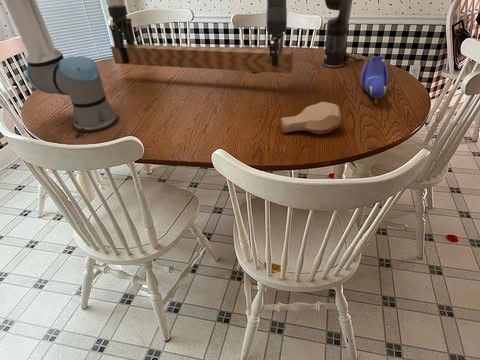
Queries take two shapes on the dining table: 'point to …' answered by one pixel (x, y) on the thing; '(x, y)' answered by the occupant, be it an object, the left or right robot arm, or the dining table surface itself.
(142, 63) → the bar
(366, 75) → the toy
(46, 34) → the left robot arm
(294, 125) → the squash
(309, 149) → the dining table surface
